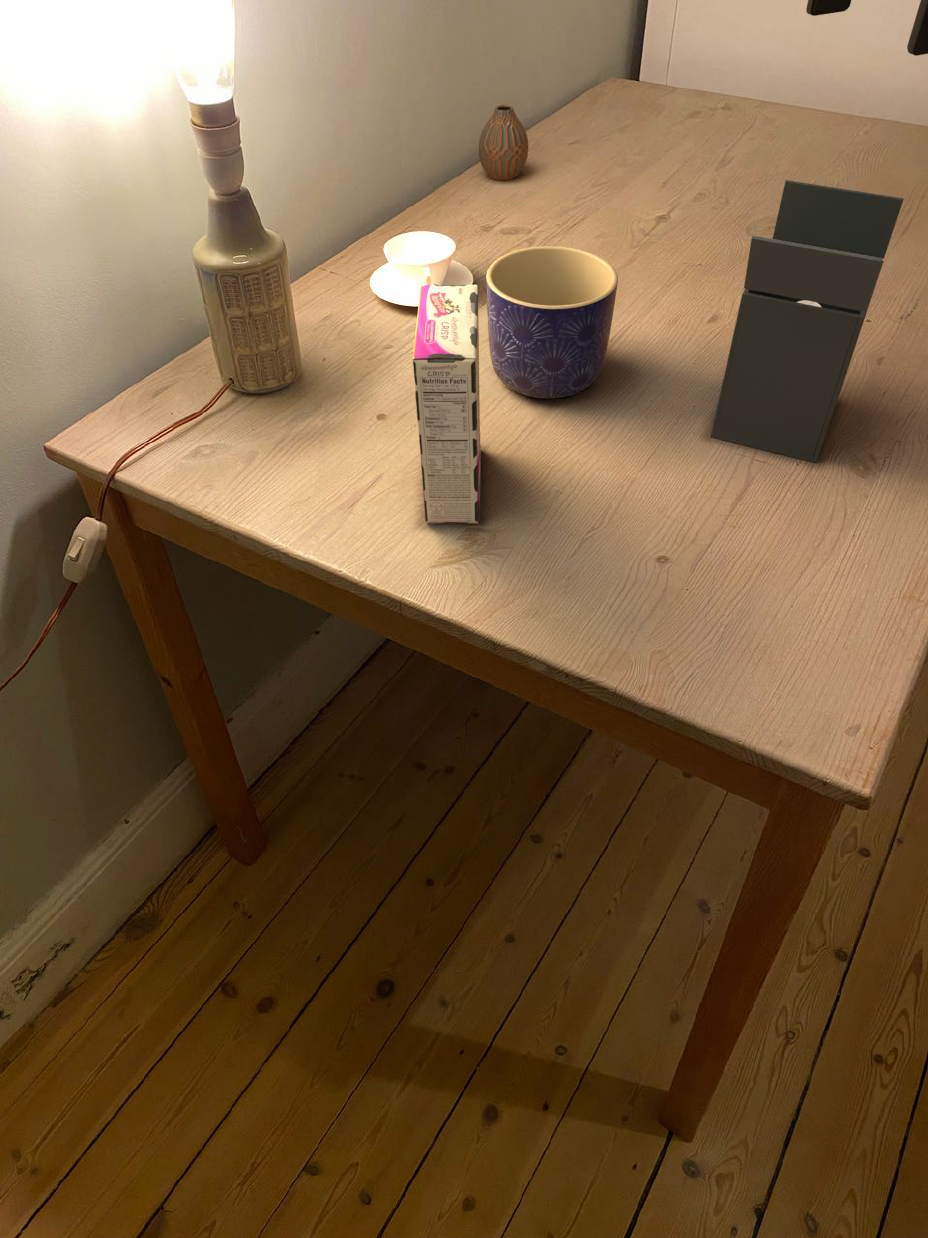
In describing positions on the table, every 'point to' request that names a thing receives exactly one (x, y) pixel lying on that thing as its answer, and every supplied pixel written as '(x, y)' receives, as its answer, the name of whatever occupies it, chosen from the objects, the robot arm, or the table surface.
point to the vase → (503, 144)
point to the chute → (799, 329)
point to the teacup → (417, 267)
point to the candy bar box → (448, 402)
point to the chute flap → (811, 273)
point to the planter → (549, 319)
